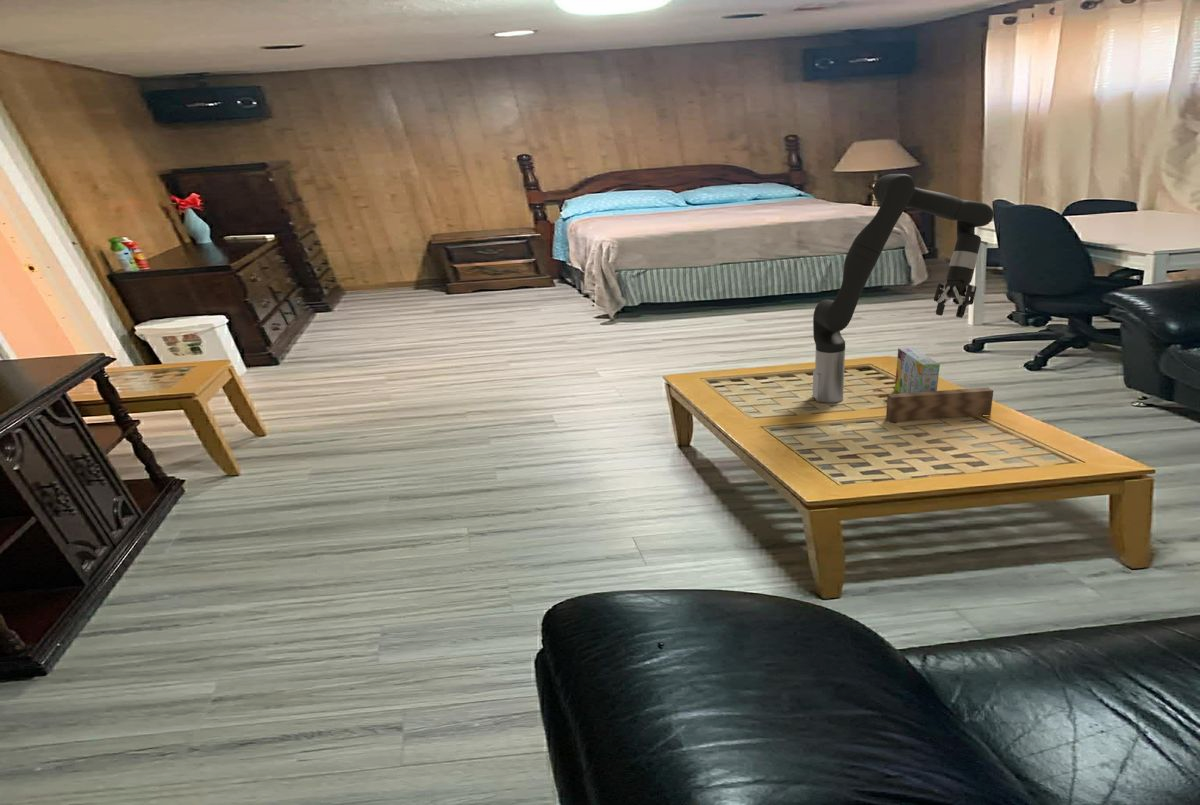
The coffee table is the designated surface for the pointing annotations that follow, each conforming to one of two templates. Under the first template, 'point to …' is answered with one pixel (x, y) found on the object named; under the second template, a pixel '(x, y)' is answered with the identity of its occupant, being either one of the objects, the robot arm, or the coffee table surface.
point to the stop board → (939, 404)
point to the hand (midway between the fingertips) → (948, 316)
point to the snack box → (915, 372)
